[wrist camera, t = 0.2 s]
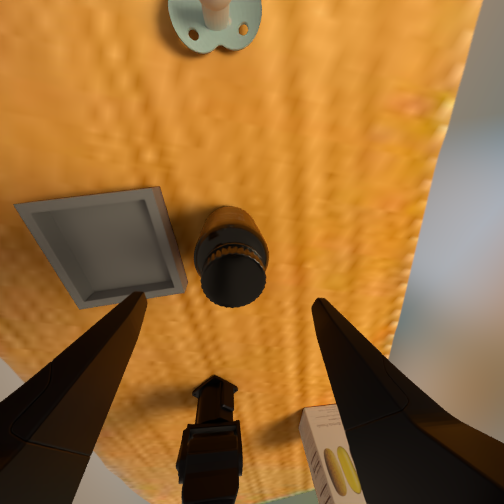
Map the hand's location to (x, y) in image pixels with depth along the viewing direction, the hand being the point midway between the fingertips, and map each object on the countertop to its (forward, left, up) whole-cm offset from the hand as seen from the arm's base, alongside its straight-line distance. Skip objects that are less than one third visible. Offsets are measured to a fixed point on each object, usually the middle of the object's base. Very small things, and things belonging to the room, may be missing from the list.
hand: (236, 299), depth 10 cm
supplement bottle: (-1, -1, -16) cm, 16 cm away
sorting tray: (-12, +7, -15) cm, 21 cm away
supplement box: (-19, -50, -16) cm, 55 cm away
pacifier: (+12, +14, -16) cm, 25 cm away
